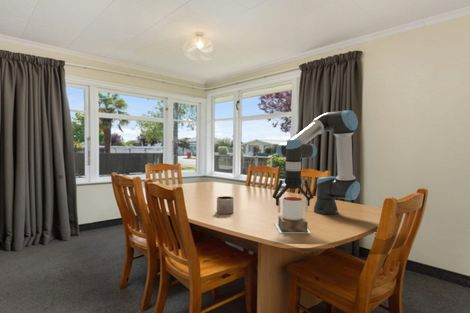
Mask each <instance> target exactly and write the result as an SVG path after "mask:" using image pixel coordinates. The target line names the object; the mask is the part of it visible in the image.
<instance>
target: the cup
mask: <svg viewBox="0 0 470 313" xmlns="http://www.w3.org/2000/svg"><path fill="white" fill-rule="evenodd" d="M282 216H283V218H284V219H286V220H291V221H297V220H301V219H302V218H304V199H303V198H301V197H296V196H286V197H285V196H284V197H283V198H282Z"/></svg>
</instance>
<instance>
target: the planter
mask: <svg viewBox="0 0 470 313" xmlns="http://www.w3.org/2000/svg"><path fill="white" fill-rule="evenodd" d="M234 202H235V201H234V197H233V196H228V195H222V196H221V195H220V196H217V197H216V213H217V214H220V215H231V214H233V213H234V208H235V207H234V206H235V204H234Z"/></svg>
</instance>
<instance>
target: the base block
mask: <svg viewBox="0 0 470 313" xmlns="http://www.w3.org/2000/svg"><path fill="white" fill-rule="evenodd" d="M277 224H278V225H279V227H280V229H281V230H282V232H307V228H308V221H307V220H306V219H305V218H304V217H303V218H302V219H301V220H297V221H291V220H286V219H284V218H283V215H278V221H277Z"/></svg>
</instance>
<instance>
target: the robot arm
mask: <svg viewBox="0 0 470 313" xmlns="http://www.w3.org/2000/svg"><path fill="white" fill-rule="evenodd" d="M358 126H359V121H358V117H357V115H356V113H355V112H354V111H352V110H345V109H344V110H340V111H339V110H338V111H329V112H326V113H323V114H321V115H319V116H317V117H316V118H314V119H313V120H312V121H311V122H310V123H309V125H308V126H306V127H305V128H304V129H302V130H301V131H299V133H296V135H294V136H293V137H292V138H291V139H287V140H286V142H285V143H279V144H277V146H276V148H275V151H276V154H277V156H279V157H282V158H285V179H279V181H278V184H277V185H276V188H275V189H274V192H273V193H272V199H275V205H276V206H277V213H279V214H280V213H281V197H282V196H283V195H284V194H285V192H287V190H289V189H290V190H293V189H294V190H298V191H300V193H301V194H302V195H303V196H304V197H305V199H304V213H305V214H308V207H310V206H311V205H310V204H311V200H312V199H314V195H313V193H312V191H311V189H310V186H309V184H308V180H307V179H303V180H302V171H301V170H302V159H312V158H314V157H315V156H316V155H317V153H318V148H317V146H316V145H315V144H313V143H310V141H311V140H312V139H314V138H316V136H318V135H321V134H323V133H324V132H332V134H333V136H335V144H336V163H337V164H336V165H337V175H336V176H322V177H317V179H316V201H315V202H314V206H313V212H314V213H316V214H320V215H337V214H338V212H339V209H338V206H337V203H336V202H337V201H336V199H342V200H346V201H354V200H356V199H357V198H358V197H359V195H360V192H361V184H360V182H359V181H357V179H356V176H355V175H354V173H353V172H354V169H353V166H354V165H353V148H352V146H353V145H352V143H353V142H352V141H353V140H352V136H353V135H354V133H355V130H357V128H358ZM283 184H285V186H284V187H283V189H281V188H282V185H283ZM301 184H303V185H304V188H305V190H306V191H307V193H306V191H305V190H304V189H303V187H302V186H301ZM280 189H281V190H280ZM279 191H280V192H279Z"/></svg>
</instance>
